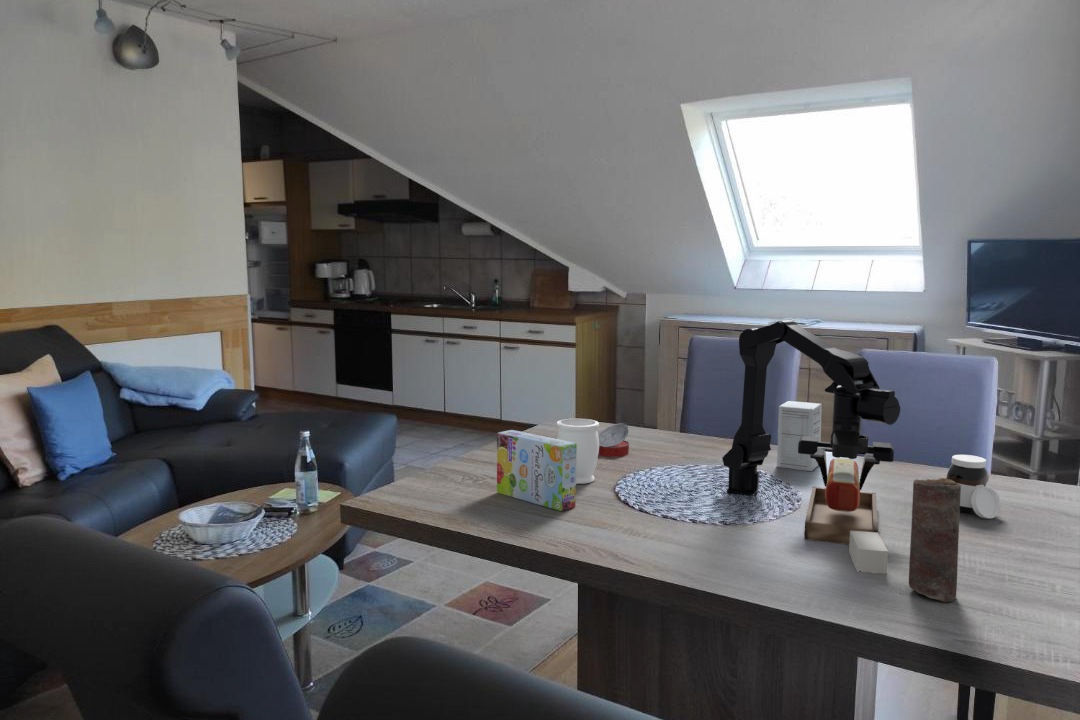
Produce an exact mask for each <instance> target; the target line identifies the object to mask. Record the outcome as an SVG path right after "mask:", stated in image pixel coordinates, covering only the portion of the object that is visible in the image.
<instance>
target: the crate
mask: <svg viewBox="0 0 1080 720" xmlns="http://www.w3.org/2000/svg"><path fill="white" fill-rule="evenodd" d="M825 488H826V487H819V486H812V488H811V493H810V497H809V502H808V507H807V511H806V516H805V521H804V533H803V534H804V537H803V539H804V540H809V541H817V542H824V543H832V544H840V545H848V544H849V542H850V531H863V532H877V533H878V534H879V525H878V523H879V522H878V506H877V503H878V502H877V493H876V492H870V491H869V492H868V491H860V503H859V506H858V508H857V509H856V510H855V511H851V512H843V511H836V510H833V509H830V508H829V507H828V505H827V503H826V499H825Z"/></svg>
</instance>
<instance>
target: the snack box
mask: <svg viewBox="0 0 1080 720" xmlns="http://www.w3.org/2000/svg"><path fill="white" fill-rule="evenodd" d="M576 451H577V443H574V442H569V441H564V440H559V439H557V438H553V437H551V436H550V437H548V436H544V435H540V434H539V435H538V434H534V433H531V432H530V433H529V432H525V431H521V430H520V431H519V430H514V429H510V430H509V429H508V430H504V431H499V432H497V433H496V493H497V494H500V495H504V496H507V497H510V498H514V499H518V500H521V501H525V502H528V503H531V504H535V505H538V506H542V507H545V508H548V509H553V510H555V511H559V512H563V511H566V510H571V509H574V508H575V507H576V502H577V501H576V498H577V497H576V496H577V493H576V492H577V490H576V489H577V484H576Z"/></svg>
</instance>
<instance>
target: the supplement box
mask: <svg viewBox="0 0 1080 720" xmlns="http://www.w3.org/2000/svg"><path fill="white" fill-rule="evenodd" d="M822 407H823V406H822V403H819V402H817V403H816V402H806V401H805V402H804V401H794V400H788V401H786V402H784V403H782V404H781V405H778V422H777V424H778V425H777V450H776V451H777V454H776V455H777V456H776V467H777V468H783V469H791V470H799V471H804V472H805V471H807V472H812V471H813V470H815V469H816V468H817V467H819V465H818V463H817V461H816V460H815V459H813V458H810V455H809V454H800V453H798V443H799V439H800V438H801V437H802V436H812V437H819V442H822V439H821V438H822V435H821V434H822V410H823V408H822Z"/></svg>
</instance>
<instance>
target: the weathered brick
mask: <svg viewBox="0 0 1080 720" xmlns="http://www.w3.org/2000/svg"><path fill="white" fill-rule="evenodd" d="M912 486H913V487H912V505H911V507H912V509H911V513H912V514H911V529H910V531H911V532H910V547H909V550H910V551H909V562H908V563H909V567H908V586H909V588H910V589H911V590H913V591H916V592H917V593H918V594H920V595H923V596H925V597H927V598H929V599H933V600H936V601H940V602H941V603H942V602H943V603H951V602H953V601H954V600H955V599H956V598H957V589H958V585H957V584H958V564H959V563H958V561H959V560H958V559H959V536H960V535H959V534H960V518H961V517H960V514H961V512H960V495H961V485H960V484H958V483H955V481H952V480H950V479H946V477H940V478H937V479H914V480H913V483H912Z"/></svg>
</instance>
